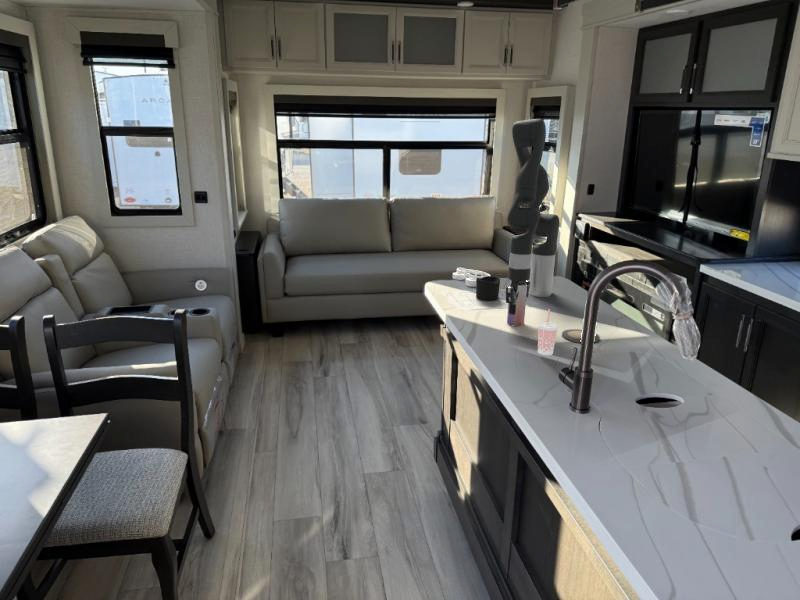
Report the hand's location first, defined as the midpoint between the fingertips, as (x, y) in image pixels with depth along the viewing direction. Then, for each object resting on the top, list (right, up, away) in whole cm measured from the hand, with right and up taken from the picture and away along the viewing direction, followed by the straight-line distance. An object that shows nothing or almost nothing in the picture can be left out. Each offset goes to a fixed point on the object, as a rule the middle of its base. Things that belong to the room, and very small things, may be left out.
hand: (516, 312), depth 198 cm
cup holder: (-10, +9, +50) cm, 52 cm away
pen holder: (-6, +3, +28) cm, 29 cm away
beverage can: (0, -5, +1) cm, 5 cm away
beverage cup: (+4, -12, -25) cm, 28 cm away
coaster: (+19, -8, -11) cm, 24 cm away
